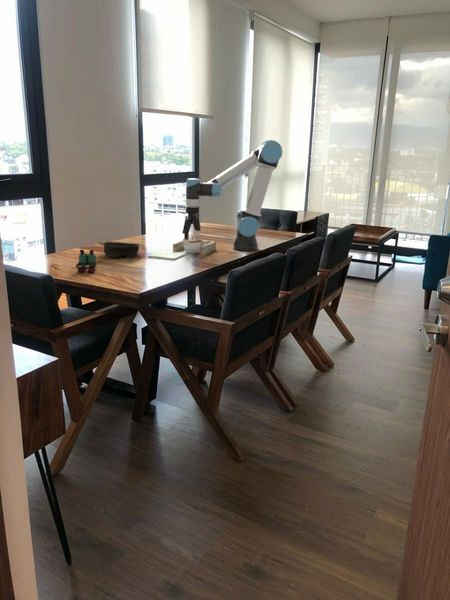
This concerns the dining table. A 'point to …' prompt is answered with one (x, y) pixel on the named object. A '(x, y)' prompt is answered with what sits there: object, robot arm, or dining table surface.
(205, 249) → the cubby
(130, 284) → the dining table surface
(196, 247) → the lidded jar
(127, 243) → the stone bowl
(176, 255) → the pad
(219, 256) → the dining table surface
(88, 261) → the binoculars
